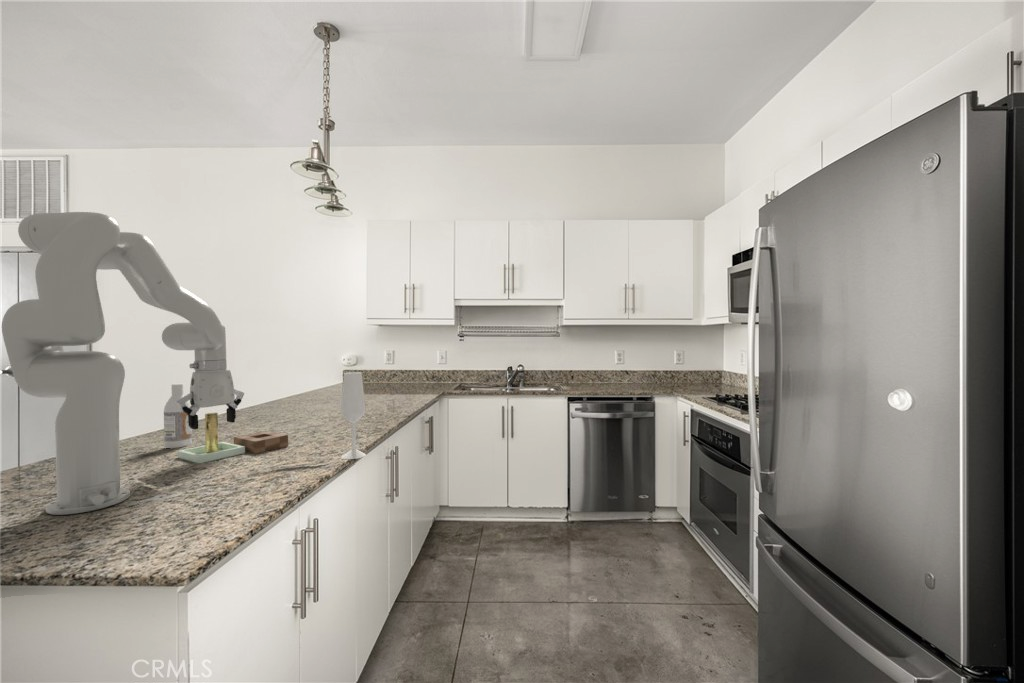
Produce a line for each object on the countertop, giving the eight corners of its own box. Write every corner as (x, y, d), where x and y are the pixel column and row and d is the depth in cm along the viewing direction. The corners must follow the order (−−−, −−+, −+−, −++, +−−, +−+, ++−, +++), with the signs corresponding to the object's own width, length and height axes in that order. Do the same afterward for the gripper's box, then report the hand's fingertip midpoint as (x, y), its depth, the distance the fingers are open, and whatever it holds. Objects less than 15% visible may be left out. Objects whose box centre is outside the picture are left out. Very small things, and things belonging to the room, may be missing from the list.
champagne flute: (347, 452, 130) (346, 371, 130) (369, 452, 130) (368, 371, 130) (337, 458, 124) (335, 373, 123) (360, 459, 123) (359, 373, 123)
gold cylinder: (220, 454, 127) (219, 413, 127) (208, 457, 124) (208, 414, 124) (215, 453, 129) (214, 412, 128) (203, 455, 126) (202, 413, 126)
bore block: (288, 447, 137) (288, 434, 137) (255, 455, 128) (255, 441, 128) (266, 443, 143) (266, 430, 143) (233, 450, 135) (233, 437, 134)
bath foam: (185, 449, 136) (184, 384, 136) (159, 450, 135) (158, 385, 135) (196, 443, 143) (195, 382, 143) (171, 445, 142) (170, 383, 142)
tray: (244, 455, 129) (244, 446, 129) (198, 465, 118) (198, 456, 118) (223, 450, 135) (223, 441, 135) (177, 459, 124) (177, 450, 124)
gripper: (182, 369, 117) (184, 433, 118) (249, 364, 132) (250, 420, 133) (169, 368, 121) (171, 430, 122) (235, 363, 136) (237, 418, 136)
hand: (213, 425), depth 127 cm, fingers open, 9 cm apart
